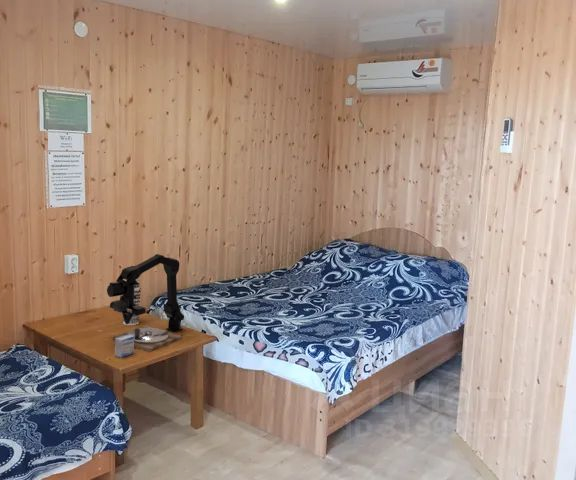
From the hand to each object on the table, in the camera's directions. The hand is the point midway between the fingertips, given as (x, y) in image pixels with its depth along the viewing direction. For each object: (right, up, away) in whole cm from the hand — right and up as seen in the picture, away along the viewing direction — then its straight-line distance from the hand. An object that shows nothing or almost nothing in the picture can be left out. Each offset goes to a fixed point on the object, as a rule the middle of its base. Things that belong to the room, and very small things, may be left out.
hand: (127, 324), depth 283 cm
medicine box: (+3, -12, -15) cm, 20 cm away
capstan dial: (+9, -7, +6) cm, 13 cm away
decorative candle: (-6, -4, +28) cm, 29 cm away
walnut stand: (+9, -9, +6) cm, 14 cm away
